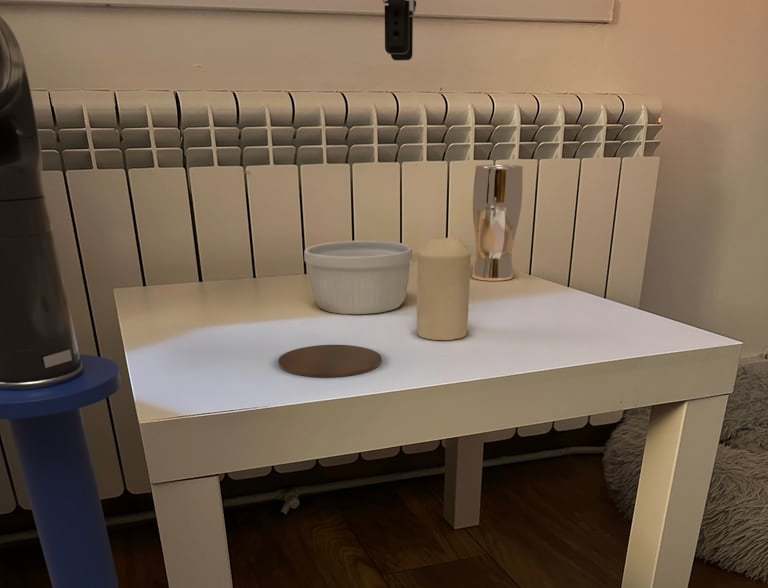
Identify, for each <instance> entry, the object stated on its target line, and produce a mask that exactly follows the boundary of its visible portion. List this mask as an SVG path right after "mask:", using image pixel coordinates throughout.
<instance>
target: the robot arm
mask: <svg viewBox="0 0 768 588" xmlns="http://www.w3.org/2000/svg"><path fill="white" fill-rule="evenodd" d="M382 4H384V50H385V52H386V53H387V54H388V55H390V57H391V59H392V60H393V61H397V62H399V61H410V60H412V58H413V55H414V54H413V49H414V47H413V46H414V44H413V42H414V41H413V40H414V38H413V37H414V36H413V35H414V31H413V30H414V17H415V13H416V7H417V0H382ZM385 4H386V5H385ZM387 4H388V5H387ZM33 101H34V100H33V97H32V90H31V86H30V81H29V76H28V71H27V67H26V63H25V59H24V55H23V52H22V49H21V46H20V43H19V41H18V39H17V37H16V35H15V33H14V32H13V30H12V29H11V27H10V25H9V24H8V23H7V22H6V21H5V19H4V18H3V17H2V16H1V15H0V390H32V389H40V388H46V387H51V386H55V385H60V384H63V383H66V382H69V381H71V380H74V379H76V378H77V377H79V376H80V375H82V373H83V371H84V370H83V366H82V362H81V361H80V354H81V353H80V349H79V346H78V342H77V337H76V331H75V327H74V323H73V318H72V313H71V308H70V303H69V299H68V293H67V289H66V283H65V280H64V276H63V275H64V274H63V270H62V265H61V261H60V255H59V251H58V246H57V242H56V241H57V240H56V237H55V232H54V227H53V222H52V218H51V217H52V216H51V214H50V209H49V204H48V199H47V196H46V194H47V193H46V189H45V184H44V178H43V152H42V151H43V150H42V145H41V140H40V134H39V129H38V128H39V127H38V123H37V117H36V113H35V107H34V102H33Z"/></svg>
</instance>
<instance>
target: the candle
mask: <svg viewBox="0 0 768 588" xmlns="http://www.w3.org/2000/svg"><path fill="white" fill-rule="evenodd" d="M471 259H472V252H471V250H470V249H469V248H468V247H467V245H466V243H464V242H463V240H462V239H461V237H456V236H448V237H442V236H440V235H435V236H434V237H433V238H432V237H431V238H430V239H429V240H428V241H427V242H426V243H425V244H424V245H423V246H422V247H421V248H420V249H418V251H417V273H416V275H417V277H416V278H417V279H416V281H417V282H416V285H417V287H416V295H417V296H416V334H417V336H419V337H421V338H423V339H426V340H433V341H451V340H459V339H462V338H464V337H465V338H466V336H467V335H468V327H469V325H468V323H469V306H470V305H469V304H470V281H471V263H472V262H471Z"/></svg>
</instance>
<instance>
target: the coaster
mask: <svg viewBox="0 0 768 588" xmlns="http://www.w3.org/2000/svg"><path fill="white" fill-rule="evenodd" d="M382 361H383V360H382V356H381V354H380V353H379V352H378V351H375V350H374V349H371V348H368V347H363V346H358V345H349V344H319V345H311V346H310V345H309V346H305V347H299V348H296V349H292V350H290V351H287V352H285V353H283V354H281V355H280V356H279V357H278V361H277V363H278V366H279V368H280V369H281V370H283V371H285V372H287V373H290V374H293V375H297V376H303V377H312V378H339V377H348V376H356V375H360V374H363V373H367V372H370V371H373V370H374V369H376V368H378V367H379V366H380V365H381V364H382Z"/></svg>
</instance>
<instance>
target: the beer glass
mask: <svg viewBox="0 0 768 588" xmlns="http://www.w3.org/2000/svg"><path fill="white" fill-rule="evenodd" d="M523 173H524V166H523V165H516V164H515V165H514V164H482V165H476V166H475V174H474V179H473V190H472V220H473V229H474V238H475V259H474V263H473V268H472V272H471V277H472V279H475V280H479V281H487V282H503V281H508V280H511V279H513V278H514V268H513V267H514V266H513V247H514V242H515V238H516V233H517V229H518V225H519V221H520V217H521V211H522V203H523V191H524V187H523V186H524V185H523V184H524V182H523V180H524V179H523V177H524V176H523Z"/></svg>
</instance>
